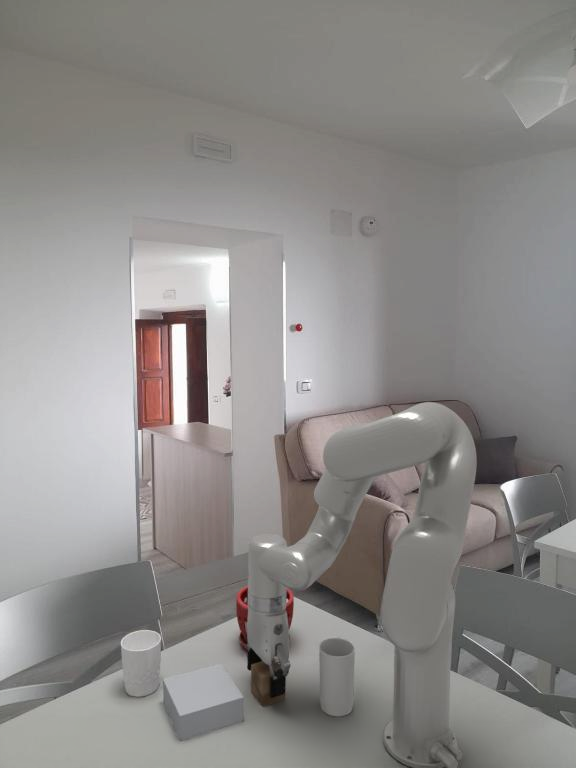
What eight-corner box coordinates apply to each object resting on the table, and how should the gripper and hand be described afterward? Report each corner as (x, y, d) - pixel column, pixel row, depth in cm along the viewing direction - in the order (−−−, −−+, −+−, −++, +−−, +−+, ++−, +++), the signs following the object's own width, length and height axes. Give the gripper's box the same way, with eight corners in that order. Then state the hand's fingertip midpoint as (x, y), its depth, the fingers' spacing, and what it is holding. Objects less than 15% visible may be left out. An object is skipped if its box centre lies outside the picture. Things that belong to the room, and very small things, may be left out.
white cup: (114, 694, 116) (112, 647, 115) (135, 672, 124) (134, 627, 123) (149, 702, 114) (148, 653, 113) (169, 679, 122) (168, 633, 121)
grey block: (243, 722, 109) (243, 697, 108) (180, 742, 104) (179, 716, 103) (221, 686, 120) (221, 663, 119) (163, 703, 114) (163, 679, 114)
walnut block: (285, 699, 115) (285, 670, 115) (262, 707, 113) (262, 677, 112) (273, 685, 120) (273, 657, 119) (251, 693, 117) (251, 664, 116)
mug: (353, 719, 109) (354, 658, 108) (317, 716, 110) (317, 655, 109) (355, 686, 119) (356, 630, 118) (322, 683, 120) (322, 627, 119)
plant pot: (224, 647, 134) (224, 597, 132) (261, 624, 144) (261, 577, 143) (269, 667, 126) (269, 614, 124) (305, 641, 136) (305, 591, 135)
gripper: (306, 614, 109) (304, 700, 110) (264, 577, 124) (263, 654, 125) (270, 623, 105) (268, 713, 107) (231, 585, 120) (230, 663, 122)
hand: (265, 681), depth 116 cm, fingers open, 9 cm apart
